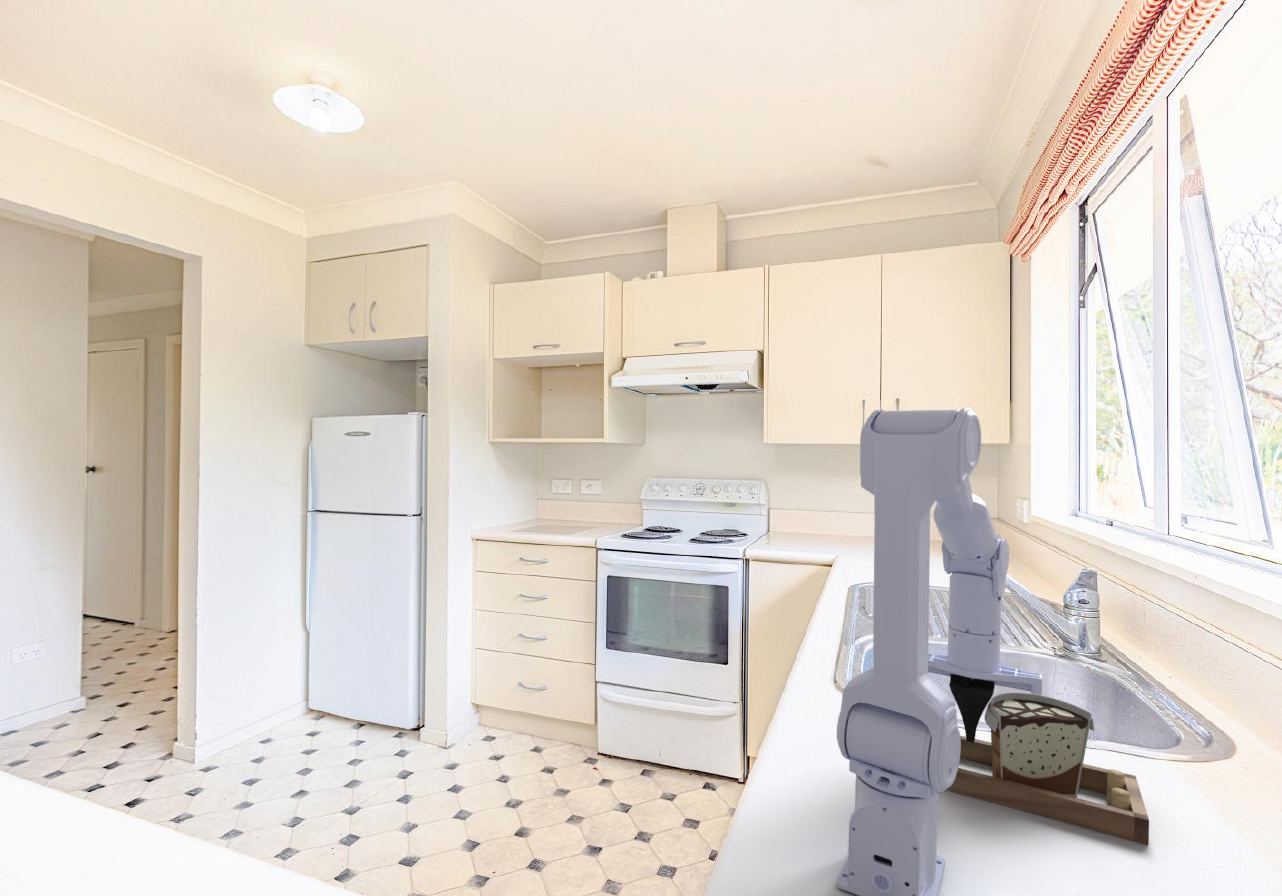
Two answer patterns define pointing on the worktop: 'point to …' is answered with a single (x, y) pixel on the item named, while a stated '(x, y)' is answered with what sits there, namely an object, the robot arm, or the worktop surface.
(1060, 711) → the food container
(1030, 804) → the rail frame
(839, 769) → the worktop surface
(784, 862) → the worktop surface
